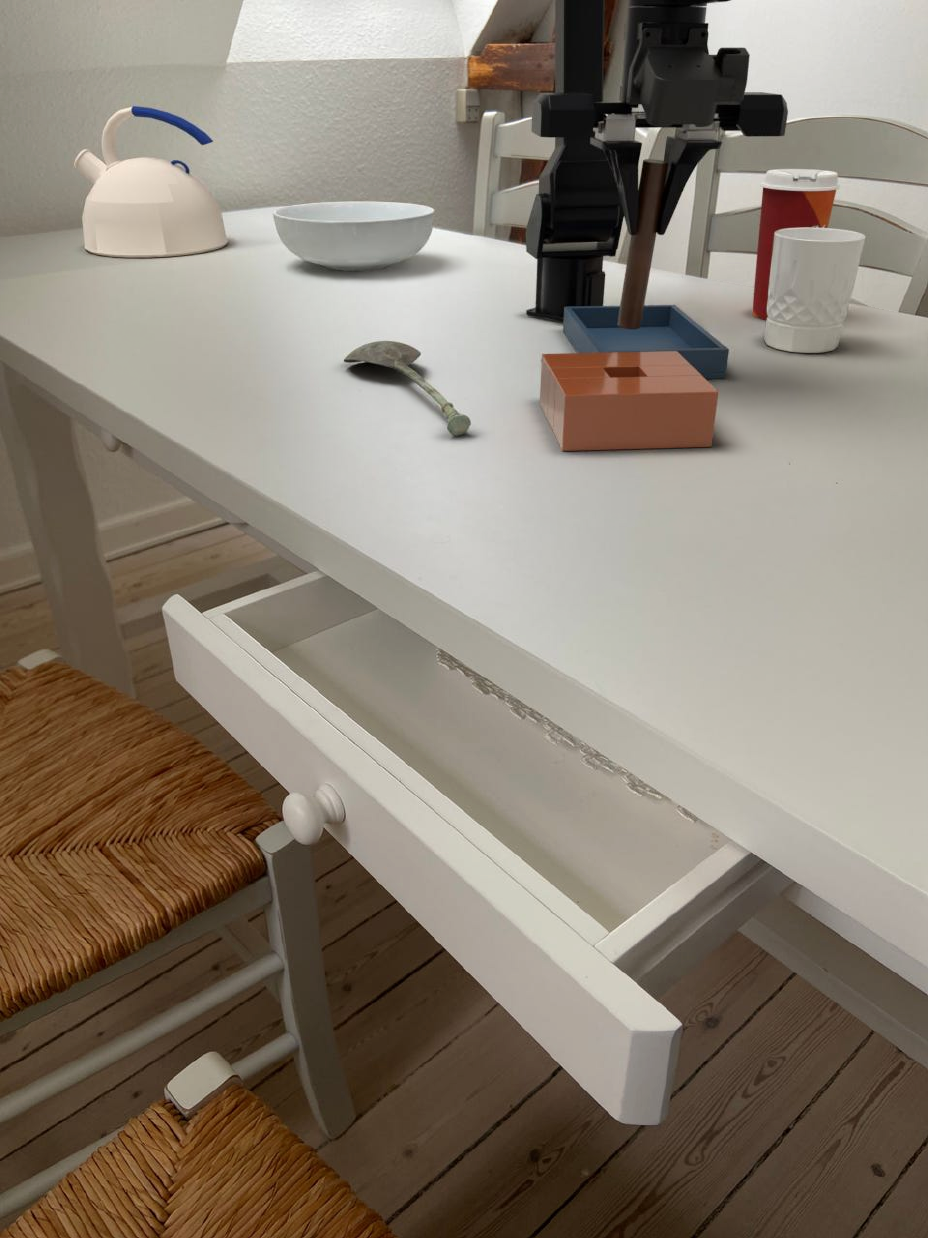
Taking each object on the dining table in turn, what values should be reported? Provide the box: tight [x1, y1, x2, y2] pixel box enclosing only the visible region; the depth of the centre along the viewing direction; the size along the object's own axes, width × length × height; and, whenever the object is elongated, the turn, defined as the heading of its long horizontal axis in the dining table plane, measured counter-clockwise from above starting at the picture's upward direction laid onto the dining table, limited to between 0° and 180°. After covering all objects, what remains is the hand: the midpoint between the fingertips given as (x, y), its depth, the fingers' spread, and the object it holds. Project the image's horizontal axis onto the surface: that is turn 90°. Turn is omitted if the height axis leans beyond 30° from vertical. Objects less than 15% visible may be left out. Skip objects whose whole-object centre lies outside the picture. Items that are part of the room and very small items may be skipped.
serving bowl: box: [272, 200, 436, 272], centre depth 127 cm, size 21×21×7 cm
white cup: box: [763, 227, 866, 354], centre depth 90 cm, size 8×8×10 cm
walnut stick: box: [617, 158, 668, 329], centre depth 80 cm, size 2×2×13 cm
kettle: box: [73, 105, 229, 259], centre depth 137 cm, size 20×21×18 cm
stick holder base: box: [539, 351, 719, 452], centre depth 72 cm, size 11×11×4 cm
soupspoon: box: [343, 340, 472, 436], centre depth 78 cm, size 22×3×7 cm
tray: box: [562, 304, 730, 380], centre depth 89 cm, size 17×11×2 cm, turn 5°
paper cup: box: [752, 168, 841, 321], centre depth 100 cm, size 8×8×14 cm
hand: (646, 234), depth 79 cm, fingers closed on walnut stick, 2 cm apart
